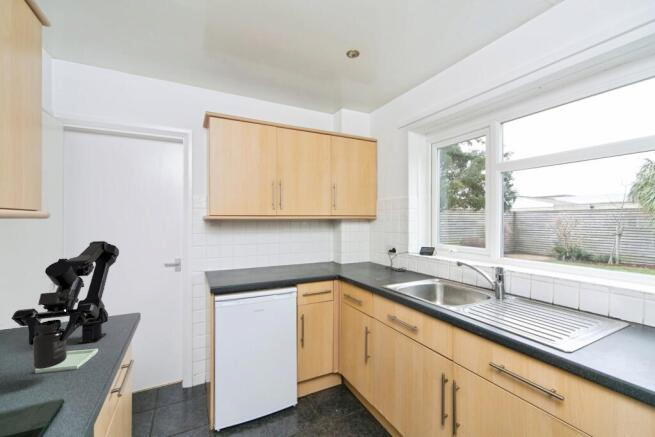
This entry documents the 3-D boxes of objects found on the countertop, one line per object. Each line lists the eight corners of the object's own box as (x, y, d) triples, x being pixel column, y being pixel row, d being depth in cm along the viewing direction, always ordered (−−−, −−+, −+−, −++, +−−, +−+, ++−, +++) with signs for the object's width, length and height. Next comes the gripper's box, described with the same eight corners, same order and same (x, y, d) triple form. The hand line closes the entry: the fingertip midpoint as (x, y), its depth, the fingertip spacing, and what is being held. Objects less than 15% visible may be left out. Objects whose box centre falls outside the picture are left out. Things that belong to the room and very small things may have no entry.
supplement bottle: (64, 354, 84) (64, 316, 84) (68, 362, 79) (68, 321, 79) (32, 363, 78) (31, 322, 78) (34, 372, 74) (33, 329, 74)
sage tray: (61, 355, 93) (61, 351, 92) (98, 351, 95) (98, 348, 95) (35, 373, 82) (35, 369, 82) (77, 369, 84) (77, 365, 84)
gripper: (15, 282, 79) (-16, 337, 69) (94, 277, 85) (77, 326, 75) (33, 301, 86) (8, 352, 76) (105, 295, 93) (91, 341, 83)
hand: (47, 342), depth 78 cm, fingers closed on supplement bottle, 7 cm apart
